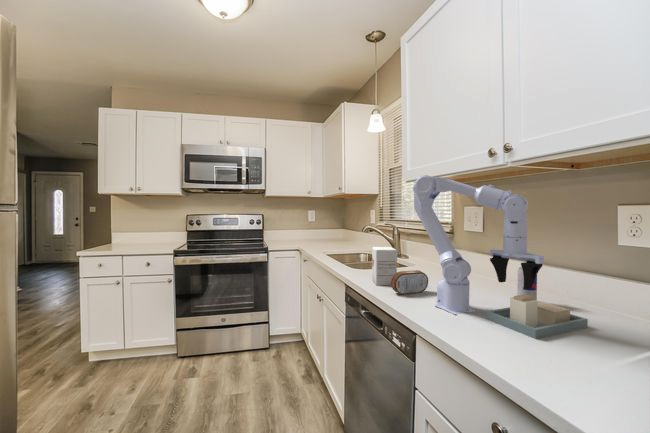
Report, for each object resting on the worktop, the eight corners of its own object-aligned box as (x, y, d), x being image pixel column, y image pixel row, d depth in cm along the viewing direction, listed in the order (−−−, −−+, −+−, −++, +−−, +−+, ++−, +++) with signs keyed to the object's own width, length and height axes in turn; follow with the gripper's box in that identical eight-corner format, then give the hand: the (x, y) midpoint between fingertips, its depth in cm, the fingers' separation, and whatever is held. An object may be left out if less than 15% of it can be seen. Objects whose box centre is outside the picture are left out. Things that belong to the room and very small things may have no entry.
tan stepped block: (525, 316, 87) (525, 303, 87) (539, 314, 89) (540, 301, 89) (555, 327, 79) (555, 312, 79) (569, 324, 81) (570, 309, 81)
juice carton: (509, 323, 82) (510, 295, 82) (521, 321, 84) (521, 293, 83) (525, 329, 78) (525, 299, 78) (537, 327, 80) (537, 297, 79)
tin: (424, 290, 117) (424, 269, 117) (429, 292, 114) (429, 270, 114) (390, 293, 113) (390, 271, 112) (394, 296, 110) (395, 273, 109)
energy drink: (538, 308, 96) (539, 270, 96) (519, 306, 98) (519, 269, 98) (533, 303, 101) (534, 267, 101) (515, 301, 103) (516, 266, 103)
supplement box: (371, 280, 133) (371, 246, 133) (391, 280, 134) (391, 246, 133) (375, 285, 124) (375, 249, 124) (397, 285, 125) (397, 249, 124)
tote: (485, 320, 86) (486, 311, 85) (534, 312, 92) (534, 303, 92) (535, 341, 72) (535, 329, 72) (587, 329, 79) (587, 319, 79)
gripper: (482, 235, 90) (482, 280, 90) (531, 240, 76) (531, 293, 77) (499, 234, 92) (498, 278, 93) (549, 239, 79) (548, 290, 79)
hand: (514, 285), depth 85 cm, fingers open, 7 cm apart
